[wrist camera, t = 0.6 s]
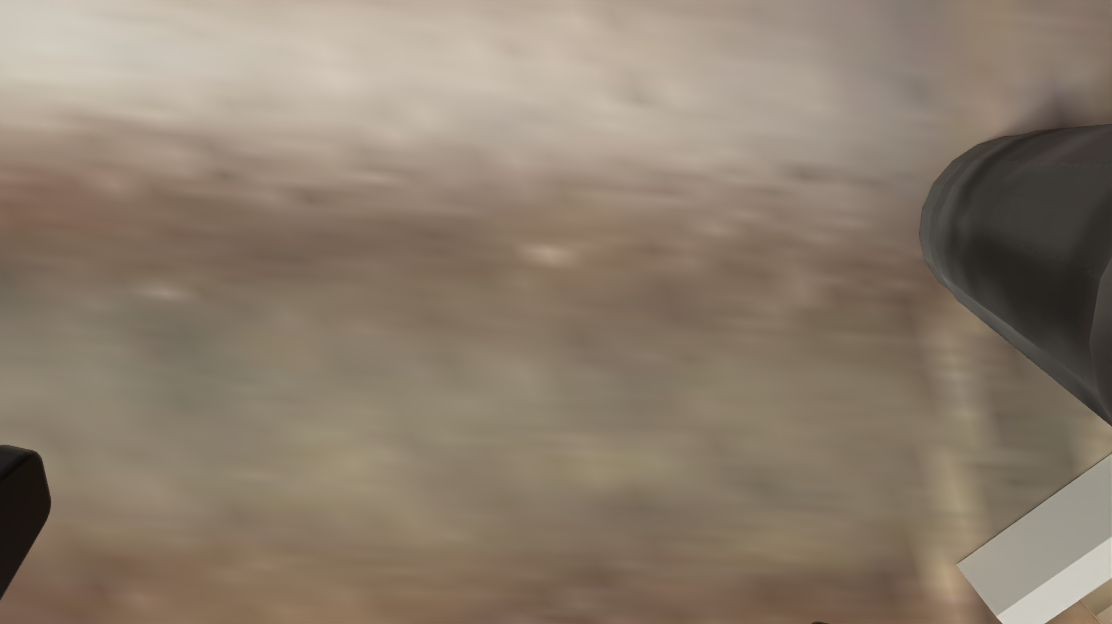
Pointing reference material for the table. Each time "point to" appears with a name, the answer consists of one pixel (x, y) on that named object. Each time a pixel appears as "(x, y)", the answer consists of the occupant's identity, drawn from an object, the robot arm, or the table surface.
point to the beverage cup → (1033, 249)
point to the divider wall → (1048, 553)
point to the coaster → (1100, 602)
